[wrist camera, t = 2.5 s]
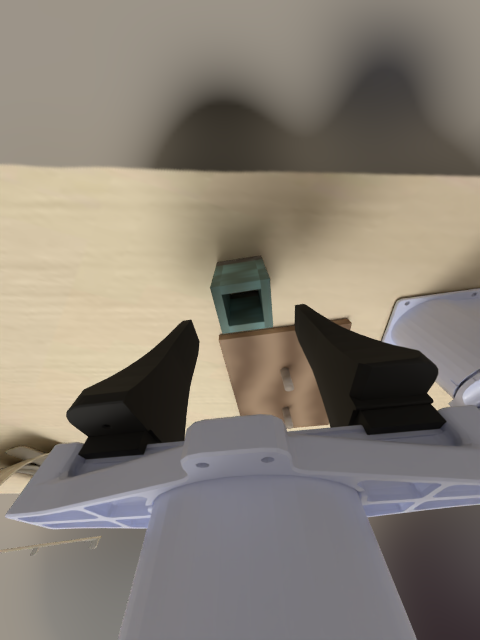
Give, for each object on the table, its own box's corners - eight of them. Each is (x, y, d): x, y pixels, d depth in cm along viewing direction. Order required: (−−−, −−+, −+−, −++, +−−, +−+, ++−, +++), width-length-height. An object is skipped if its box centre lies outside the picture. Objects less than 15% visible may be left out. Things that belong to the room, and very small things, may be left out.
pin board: (347, 318, 23) (366, 339, 19) (326, 419, 36) (335, 442, 33) (219, 335, 24) (216, 358, 21) (245, 426, 37) (245, 449, 34)
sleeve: (260, 255, 18) (269, 278, 13) (264, 295, 21) (273, 327, 16) (217, 262, 19) (210, 287, 14) (225, 300, 21) (222, 333, 16)
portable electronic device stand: (42, 431, 38) (-58, 555, 25) (131, 469, 50) (94, 565, 37) (-25, 457, 44) (-132, 565, 31) (68, 485, 56) (18, 571, 43)
